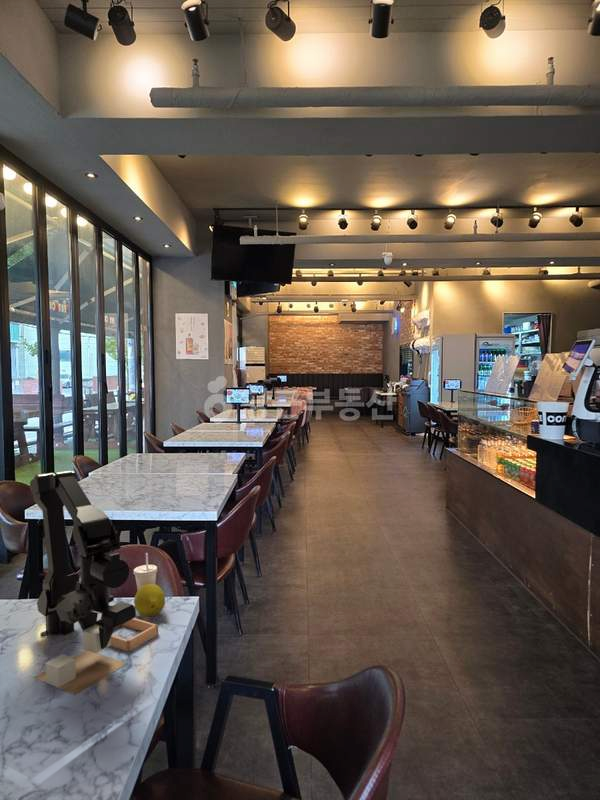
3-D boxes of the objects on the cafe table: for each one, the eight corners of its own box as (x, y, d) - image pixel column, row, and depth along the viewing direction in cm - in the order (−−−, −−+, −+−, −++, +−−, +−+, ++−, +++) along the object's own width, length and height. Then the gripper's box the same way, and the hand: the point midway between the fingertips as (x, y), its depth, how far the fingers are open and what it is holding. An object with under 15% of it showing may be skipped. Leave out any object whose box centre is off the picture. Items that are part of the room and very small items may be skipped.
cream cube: (83, 648, 117) (82, 630, 117) (98, 641, 121) (97, 623, 120) (95, 653, 115) (95, 635, 115) (110, 645, 119) (110, 627, 118)
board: (33, 681, 111) (33, 677, 111) (86, 653, 123) (86, 649, 123) (75, 699, 105) (75, 694, 105) (127, 668, 116) (126, 663, 116)
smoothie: (151, 608, 146) (149, 557, 146) (130, 606, 148) (128, 556, 147) (162, 598, 153) (160, 550, 152) (142, 597, 154) (140, 548, 153)
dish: (90, 643, 128) (90, 629, 128) (121, 626, 136) (121, 614, 136) (128, 655, 122) (127, 641, 121) (158, 638, 130) (158, 624, 130)
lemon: (136, 608, 147) (135, 579, 146) (165, 605, 148) (165, 577, 148) (132, 626, 136) (131, 595, 136) (164, 623, 138) (163, 592, 137)
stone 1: (45, 682, 109) (45, 663, 109) (63, 672, 113) (62, 654, 113) (58, 687, 107) (58, 668, 107) (75, 677, 111) (75, 658, 111)
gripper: (33, 580, 115) (36, 652, 115) (93, 596, 106) (95, 675, 106) (78, 564, 124) (80, 630, 125) (136, 578, 115) (138, 649, 116)
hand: (97, 645), depth 118 cm, fingers closed on cream cube, 4 cm apart
